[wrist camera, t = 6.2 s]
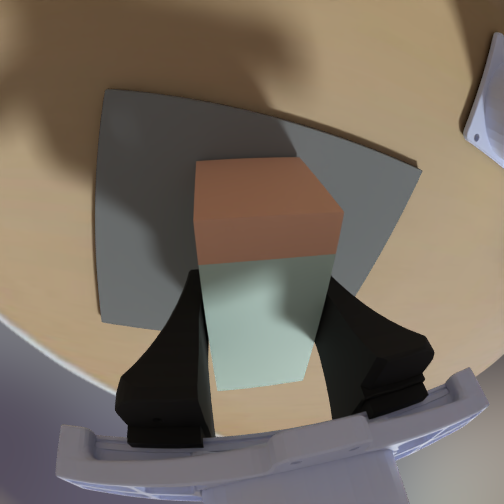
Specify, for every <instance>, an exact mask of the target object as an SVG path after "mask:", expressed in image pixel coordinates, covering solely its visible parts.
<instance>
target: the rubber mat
mask: <svg viewBox="0 0 504 504" xmlns="http://www.w3.org/2000/svg"><path fill="white" fill-rule="evenodd" d="M272 157H300V159H301V160H302V161H303V162H304V163H305V164H306V166H307V167H308V168H309V169H310V170H311V171H312V173H313V174H314V175H315V176H316V177H317V179H318V180H319V181H320V182H321V184H322V185H323V186H324V187H325V188H326V190H327V191H328V192H329V193H330V195H331V196H332V197H333V198H334V200H335V201H336V202H337V203H338V205H339V206H340V207H341V209H342V210H343V211H344V216H343V221H342V226H341V231H340V236H339V241H338V246H337V251H336V255H335V260H334V264H333V269H332V273H331V276H332V277H333V278H334V279H335V280H336V281H337V282H339V283H340V284H341V285H342V286H343V287H344V288H345V289H346V290H347V291H349V292H350V293H351V294H352V295H353V296H355V295H356V294H357V292H358V291H359V289H360V287H361V286H362V284H363V282H364V281H365V279H366V277H367V276H368V274H369V272H370V271H371V269H372V267H373V265H374V264H375V262H376V260H377V259H378V257H379V255H380V253H381V251H382V250H383V248H384V246H385V244H386V242H387V241H388V239H389V237H390V235H391V233H392V231H393V230H394V228H395V226H396V224H397V222H398V220H399V218H400V216H401V214H402V212H403V210H404V208H405V206H406V204H407V202H408V200H409V198H410V196H411V194H412V192H413V190H414V188H415V186H416V184H417V182H418V180H419V177H420V175H421V173H422V170H420V169H419V168H417V167H414V166H412V165H410V164H408V163H405V162H403V161H401V160H398V159H396V158H394V157H391V156H389V155H386V154H384V153H381V152H379V151H376V150H374V149H371V148H369V147H366V146H363V145H361V144H358V143H355V142H353V141H350V140H347V139H344V138H341V137H338V136H335V135H333V134H330V133H327V132H323V131H320V130H317V129H314V128H311V127H308V126H304V125H301V124H298V123H294V122H291V121H287V120H284V119H280V118H276V117H272V116H269V115H265V114H261V113H257V112H253V111H249V110H244V109H240V108H235V107H231V106H226V105H221V104H216V103H211V102H206V101H201V100H195V99H189V98H183V97H177V96H170V95H163V94H156V93H147V92H139V91H129V90H118V89H106V90H105V94H104V101H103V108H102V115H101V123H100V132H99V143H98V155H97V169H96V193H95V240H96V264H97V279H98V291H99V302H100V311H101V319H102V322H104V323H110V324H116V325H123V326H130V327H137V328H144V329H152V330H160V331H162V329H163V328H164V326H165V324H166V323H167V321H168V319H169V318H170V316H171V314H172V312H173V310H174V308H175V306H176V304H177V302H178V300H179V298H180V295H181V293H182V291H183V288H184V286H185V283H186V280H187V277H188V273H189V271H190V270H194V269H199V266H198V258H197V249H196V241H195V232H194V222H193V216H194V193H195V174H196V161H206V160H221V159H241V158H272Z"/></svg>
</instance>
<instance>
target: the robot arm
mask: <svg viewBox="0 0 504 504" xmlns="http://www.w3.org/2000/svg"><path fill="white" fill-rule="evenodd" d="M463 136H464V138H465V139H466V140H467V141H468V142H470V143H471V144H472V145H474V146H475V147H477V148H478V149H479V150H481V151H482V152H483V153H485V154H486V155H487V156H489V157H490V158H491V159H492V160H494V161H495V162H496V163H497V164H499V165H500V166H501V167H502V168H503V169H504V35H503V34H502V33H499V32H495V33H494V35H493V39H492V43H491V47H490V51H489V55H488V59H487V62H486V66H485V69H484V73H483V76H482V79H481V83H480V86H479V89H478V92H477V95H476V98H475V101H474V104H473V107H472V109H471V112H470V115H469V118H468V120H467V123H466V126H465V128H464V131H463ZM474 136H475V137H474ZM314 342H315V344H316V347H317V350H318V353H319V356H320V360H321V364H322V368H323V372H324V377H325V381H326V386H327V391H328V396H329V401H330V407H331V414H332V420H330V421H325V422H321V423H316V424H311V425H306V426H301V427H296V428H290V429H284V430H278V431H271V432H264V433H256V434H247V435H238V436H227V437H215V429H214V421H213V413H212V403H211V393H210V383H209V371H208V345H209V337H208V331H207V324H206V317H205V310H204V303H203V296H202V289H201V281H200V274H199V269H194V270H190V271H189V273H188V277H187V280H186V283H185V286H184V288H183V291H182V293H181V295H180V298H179V300H178V302H177V304H176V306H175V308H174V310H173V312H172V314H171V316H170V318H169V319H168V321H167V323H166V324H165V326H164V328H163V329H162V331H161V332H160V334H159V335H158V336H157V338H156V339H155V341H154V342H153V343H152V345H151V346H150V347H149V348H148V349H147V351H146V352H145V353H144V354H143V355H142V356H141V357H140V359H139V360H138V361H137V362H136V363H135V364H134V365H133V366H132V367H131V368H130V369H129V370H128V371H127V372H126V373H125V374H123V375H122V376H121V379H120V382H119V385H118V389H117V393H116V402H115V411H116V413H117V414H118V415H119V416H120V417H121V418H122V420H123V421H124V422H125V423H126V424H127V425H128V432H127V438H123V437H110V436H99V435H95V434H94V433H93V432H92V431H91V430H90V429H87V428H84V427H77V426H69V425H61V430H60V437H59V445H58V454H57V463H56V476H57V477H59V478H61V479H63V480H66V481H68V482H70V483H72V484H74V485H76V486H79V487H81V488H84V489H88V490H93V491H100V492H106V493H112V494H118V495H125V496H132V497H141V498H150V499H161V500H176V501H202V503H203V504H410V503H409V500H408V497H407V494H406V491H405V488H404V485H403V482H402V479H401V476H400V473H399V470H398V467H397V464H396V460H399V459H401V458H403V457H405V456H408V455H410V454H412V453H414V452H416V451H418V450H420V449H422V448H424V447H426V446H428V445H430V444H432V443H434V442H436V441H438V440H440V439H442V438H444V437H445V436H447V435H449V434H451V433H453V432H455V431H457V430H459V429H460V428H462V427H464V426H465V425H466V424H468V423H469V422H470V421H471V420H473V419H474V418H475V417H476V416H477V415H479V414H480V413H481V412H482V411H483V410H485V409H486V408H487V407H488V406H489V402H488V400H487V398H486V396H485V394H484V392H483V390H482V389H481V387H480V385H479V383H478V381H477V380H476V377H475V375H474V374H473V372H472V370H471V368H469V367H468V368H466V369H464V370H462V371H459V372H457V373H455V374H453V375H452V376H451V377H450V378H449V379H448V380H447V381H446V383H445V384H443V385H440V386H438V387H435V388H433V389H430V390H428V391H427V390H426V388H425V386H424V384H423V382H424V380H425V378H424V376H423V374H422V373H423V372H424V370H425V369H426V368H427V366H428V365H429V364H430V362H431V361H432V359H433V357H434V350H433V348H432V347H431V345H430V343H429V341H428V340H427V338H426V337H425V336H424V335H421V334H419V333H416V332H413V331H411V330H408V329H406V328H404V327H402V326H400V325H398V324H396V323H394V322H392V321H390V320H388V319H387V318H385V317H383V316H381V315H380V314H378V313H377V312H375V311H373V310H372V309H371V308H369V307H368V306H366V305H365V304H363V303H362V302H361V301H360V300H358V299H357V298H356V297H355V296H353V295H352V294H351V293H350V292H349V291H347V290H346V289H345V288H344V287H343V286H342V285H341V284H340V283H339V282H337V281H336V280H335V279H334V278H333V277H332V276H331V278H330V282H329V286H328V290H327V294H326V299H325V303H324V307H323V310H322V314H321V318H320V322H319V326H318V330H317V333H316V337H315V341H314Z"/></svg>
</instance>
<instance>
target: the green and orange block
mask: <svg viewBox="0 0 504 504" xmlns="http://www.w3.org/2000/svg"><path fill="white" fill-rule="evenodd" d="M343 216H344V211H343V210H342V209H341V207H340V206H339V205H338V203H337V202H336V201H335V200H334V198H333V197H332V196H331V195H330V193H329V192H328V191H327V190H326V188H325V187H324V186H323V185H322V184H321V182H320V181H319V180H318V179H317V177H316V176H315V175H314V174H313V173H312V171H311V170H310V169H309V168H308V167H307V166H306V164H305V163H304V162H303V161H302V160H301V159H300V157H272V158H241V159H221V160H206V161H196V174H195V193H194V216H193V222H194V232H195V241H196V249H197V258H198V266H199V274H200V281H201V289H202V296H203V303H204V310H205V317H206V324H207V331H208V337H209V343H210V349H211V356H212V362H213V367H214V373H215V379H216V384H217V390H218V391H224V390H235V389H244V388H253V387H261V386H269V385H276V384H283V383H289V382H296V381H302V380H303V378H304V375H305V372H306V368H307V365H308V362H309V358H310V355H311V351H312V348H313V344H314V341H315V337H316V333H317V330H318V326H319V322H320V318H321V314H322V310H323V307H324V303H325V299H326V294H327V290H328V286H329V282H330V278H331V273H332V269H333V264H334V260H335V255H336V251H337V246H338V241H339V236H340V231H341V226H342V221H343Z"/></svg>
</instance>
